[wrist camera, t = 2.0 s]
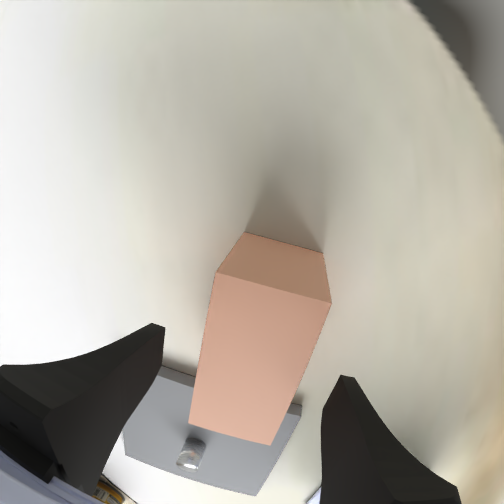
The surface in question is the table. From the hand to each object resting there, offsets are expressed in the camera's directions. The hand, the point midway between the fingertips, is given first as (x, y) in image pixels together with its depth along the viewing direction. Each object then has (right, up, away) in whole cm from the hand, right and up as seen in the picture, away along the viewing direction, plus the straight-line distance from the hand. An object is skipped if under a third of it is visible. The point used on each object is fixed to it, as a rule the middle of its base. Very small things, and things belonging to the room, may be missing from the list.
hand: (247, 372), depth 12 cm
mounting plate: (-4, -9, +9) cm, 13 cm away
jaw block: (+1, +2, +5) cm, 5 cm away
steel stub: (-4, -9, +9) cm, 13 cm away
